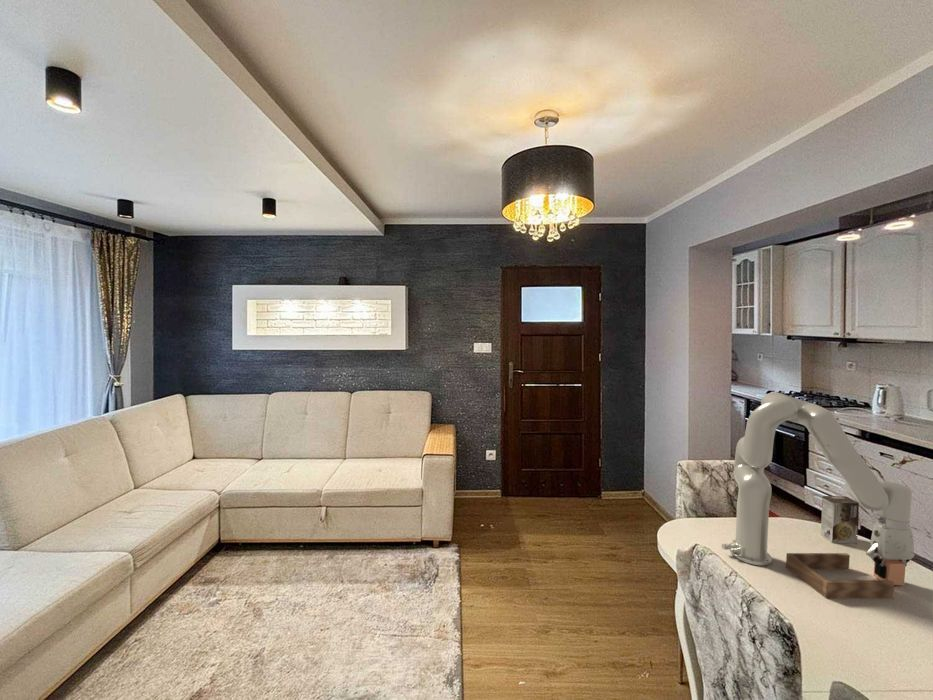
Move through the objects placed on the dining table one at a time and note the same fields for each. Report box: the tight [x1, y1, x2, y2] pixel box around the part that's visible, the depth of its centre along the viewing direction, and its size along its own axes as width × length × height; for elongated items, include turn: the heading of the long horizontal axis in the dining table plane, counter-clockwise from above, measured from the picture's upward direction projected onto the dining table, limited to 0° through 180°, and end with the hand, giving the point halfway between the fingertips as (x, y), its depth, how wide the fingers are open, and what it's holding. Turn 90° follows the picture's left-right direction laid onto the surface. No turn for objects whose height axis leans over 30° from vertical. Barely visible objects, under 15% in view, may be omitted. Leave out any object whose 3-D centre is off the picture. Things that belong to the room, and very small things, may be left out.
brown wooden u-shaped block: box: [785, 552, 895, 599], centre depth 138 cm, size 21×16×5 cm
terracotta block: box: [873, 557, 907, 586], centre depth 138 cm, size 5×5×7 cm
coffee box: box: [820, 495, 860, 544], centre depth 164 cm, size 9×6×16 cm
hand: (888, 575), depth 138 cm, fingers closed on terracotta block, 5 cm apart
